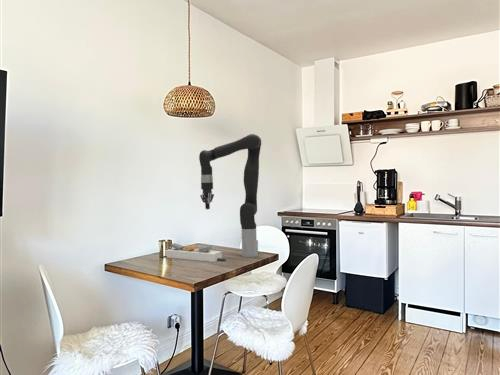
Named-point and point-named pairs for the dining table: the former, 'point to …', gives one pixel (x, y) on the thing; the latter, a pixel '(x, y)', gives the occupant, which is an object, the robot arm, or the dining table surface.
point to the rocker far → (177, 246)
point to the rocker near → (205, 248)
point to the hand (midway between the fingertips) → (207, 209)
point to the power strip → (194, 254)
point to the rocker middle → (190, 247)
